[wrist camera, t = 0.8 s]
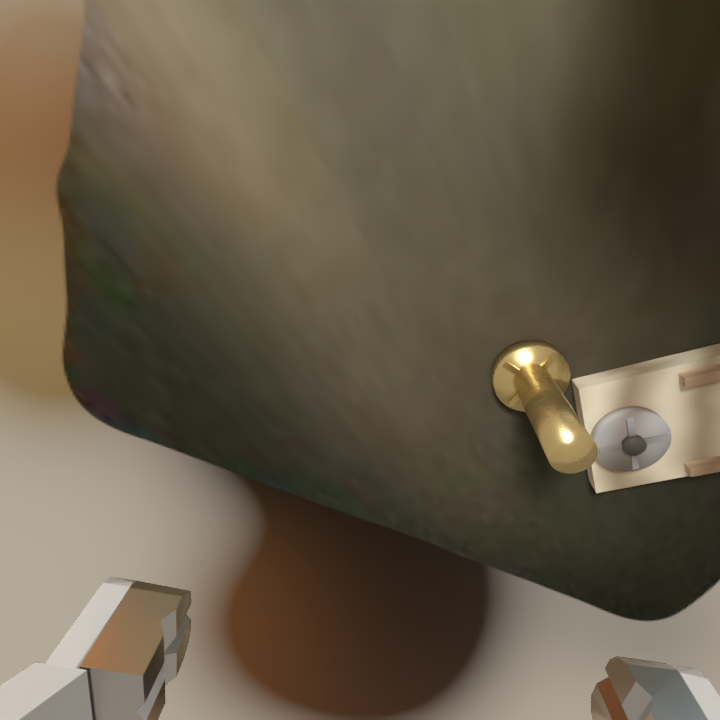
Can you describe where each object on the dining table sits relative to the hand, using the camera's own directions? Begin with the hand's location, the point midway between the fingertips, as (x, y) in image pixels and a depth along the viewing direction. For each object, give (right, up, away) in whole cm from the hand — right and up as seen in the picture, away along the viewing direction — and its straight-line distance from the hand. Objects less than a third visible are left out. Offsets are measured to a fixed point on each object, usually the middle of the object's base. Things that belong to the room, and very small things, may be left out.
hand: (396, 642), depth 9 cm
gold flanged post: (+16, +4, +35) cm, 38 cm away
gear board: (+32, +1, +35) cm, 48 cm away
